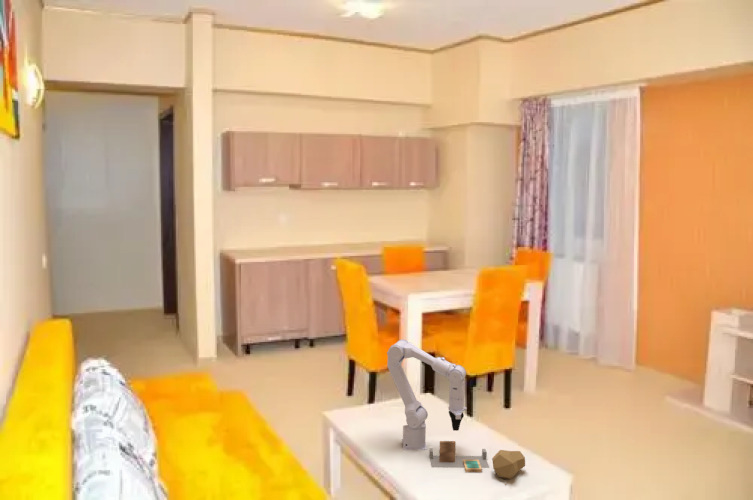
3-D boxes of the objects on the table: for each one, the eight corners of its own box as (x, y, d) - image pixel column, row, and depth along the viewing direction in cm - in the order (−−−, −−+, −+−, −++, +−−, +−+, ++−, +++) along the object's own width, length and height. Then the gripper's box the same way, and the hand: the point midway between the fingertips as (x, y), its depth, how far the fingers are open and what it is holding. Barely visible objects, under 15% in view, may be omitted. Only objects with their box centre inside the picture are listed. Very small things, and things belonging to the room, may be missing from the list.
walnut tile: (439, 462, 251) (439, 442, 249) (439, 460, 252) (439, 440, 251) (455, 462, 251) (455, 442, 249) (454, 460, 252) (455, 440, 251)
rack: (431, 468, 246) (431, 459, 246) (429, 456, 256) (429, 448, 256) (489, 469, 246) (489, 460, 246) (485, 457, 256) (485, 448, 256)
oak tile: (462, 462, 250) (465, 472, 243) (462, 459, 250) (465, 468, 242) (478, 462, 250) (481, 472, 243) (478, 459, 250) (481, 468, 242)
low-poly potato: (495, 486, 234) (524, 476, 230) (483, 456, 237) (512, 446, 234) (504, 479, 247) (532, 470, 244) (493, 451, 251) (520, 441, 247)
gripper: (469, 403, 249) (468, 437, 251) (464, 390, 263) (463, 422, 265) (450, 403, 249) (449, 437, 251) (446, 390, 263) (446, 422, 265)
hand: (455, 429), depth 258 cm, fingers closed
